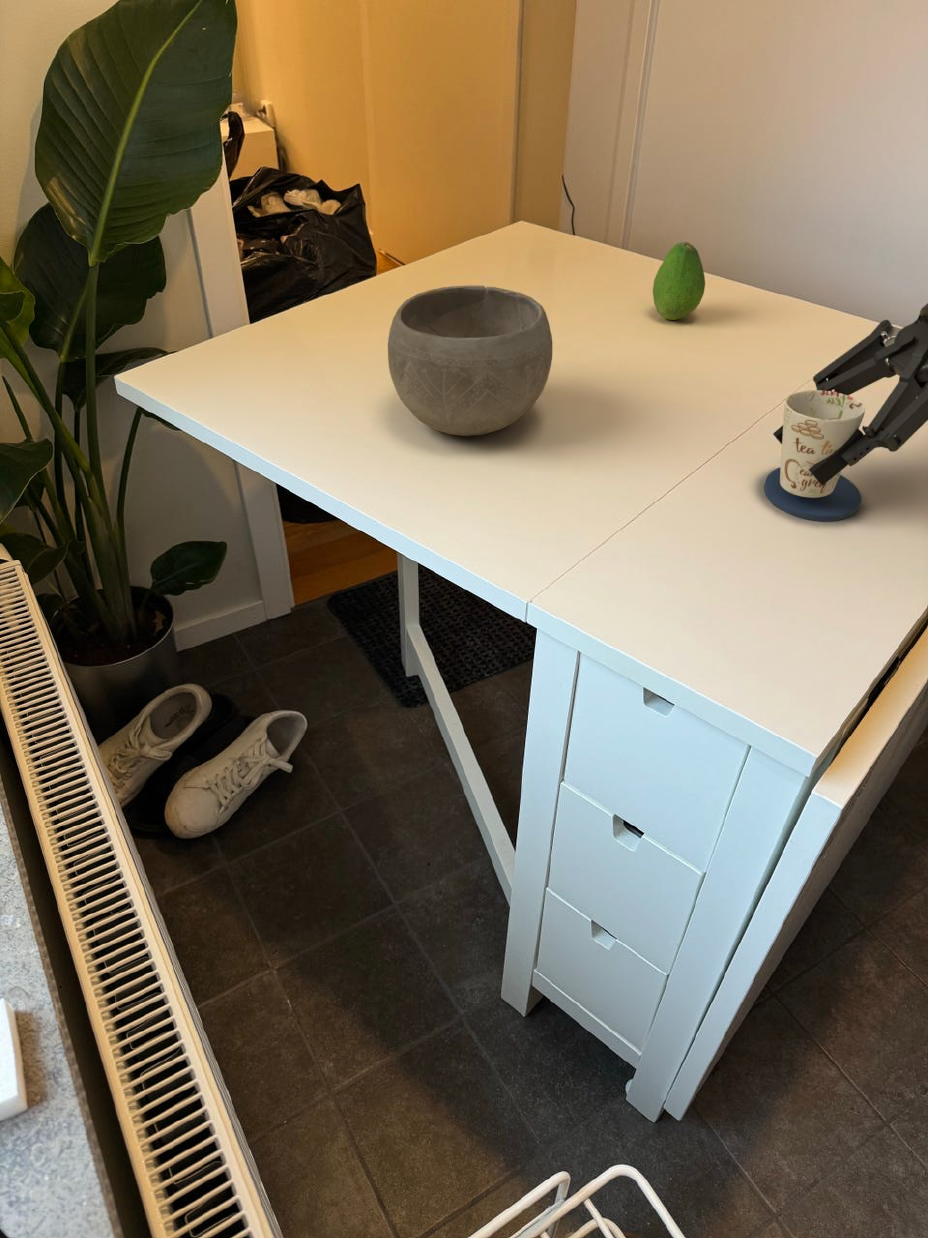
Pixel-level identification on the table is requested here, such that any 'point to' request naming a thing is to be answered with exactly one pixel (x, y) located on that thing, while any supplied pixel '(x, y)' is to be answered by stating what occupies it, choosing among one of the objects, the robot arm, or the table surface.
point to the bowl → (469, 357)
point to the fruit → (679, 282)
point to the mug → (815, 437)
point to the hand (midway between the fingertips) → (797, 459)
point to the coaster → (814, 500)
